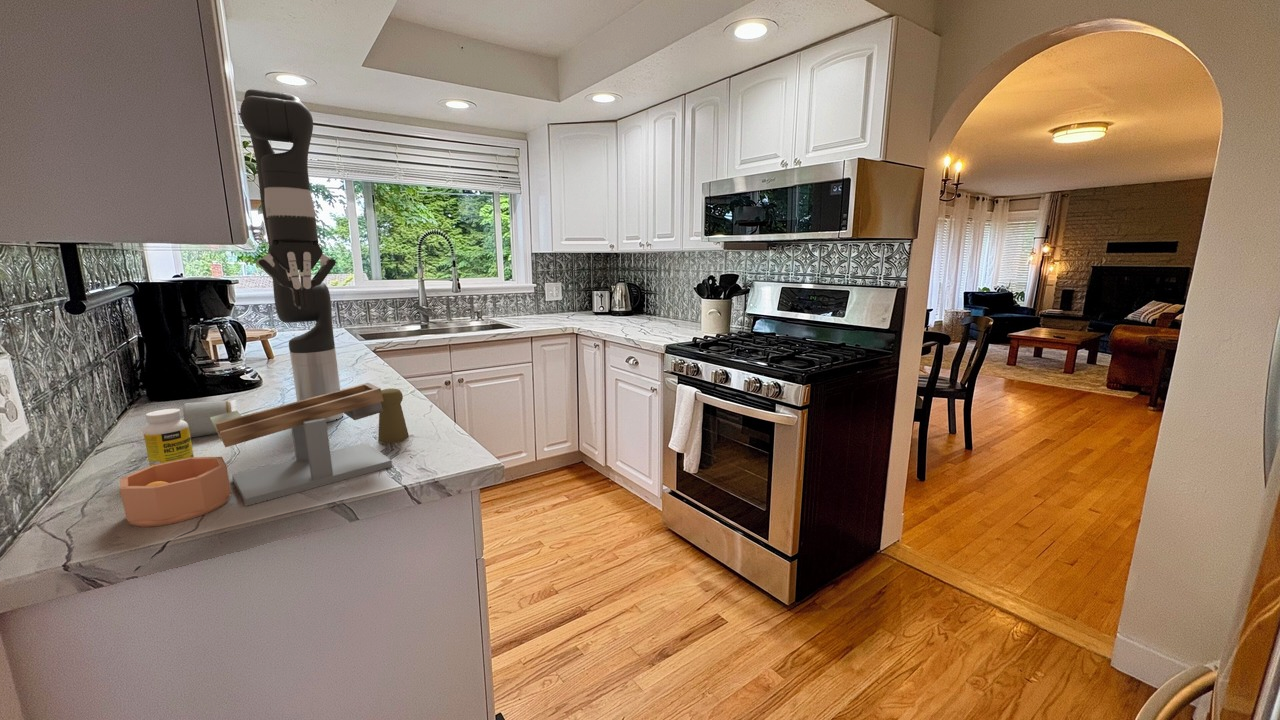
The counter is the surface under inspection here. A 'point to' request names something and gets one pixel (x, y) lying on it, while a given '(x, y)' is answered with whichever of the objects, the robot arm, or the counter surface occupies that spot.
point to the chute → (298, 413)
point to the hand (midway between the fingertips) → (303, 308)
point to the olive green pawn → (392, 418)
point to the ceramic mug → (203, 416)
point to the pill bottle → (167, 437)
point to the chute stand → (308, 465)
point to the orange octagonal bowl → (175, 491)
